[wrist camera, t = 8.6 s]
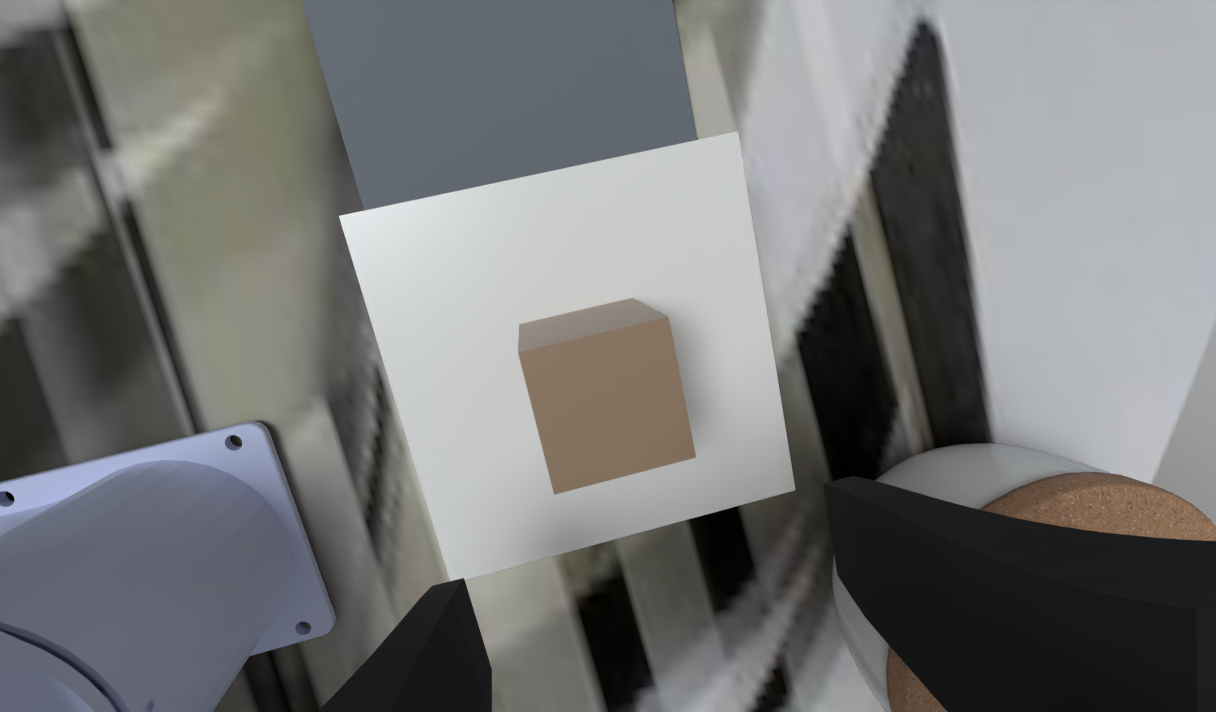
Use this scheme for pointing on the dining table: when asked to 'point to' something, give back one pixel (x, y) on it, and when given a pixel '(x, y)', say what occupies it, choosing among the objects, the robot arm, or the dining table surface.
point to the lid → (578, 351)
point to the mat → (496, 88)
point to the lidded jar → (1018, 491)
